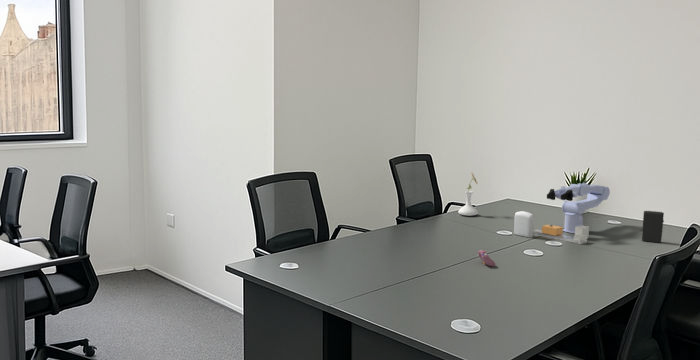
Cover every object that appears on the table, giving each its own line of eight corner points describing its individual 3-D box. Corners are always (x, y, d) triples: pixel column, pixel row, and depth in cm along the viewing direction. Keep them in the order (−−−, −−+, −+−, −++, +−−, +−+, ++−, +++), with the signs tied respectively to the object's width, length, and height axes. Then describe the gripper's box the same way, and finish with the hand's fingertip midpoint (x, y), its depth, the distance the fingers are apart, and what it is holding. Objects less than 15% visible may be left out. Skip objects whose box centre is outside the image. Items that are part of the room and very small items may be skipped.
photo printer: (512, 234, 350) (513, 210, 349) (517, 233, 353) (518, 209, 351) (529, 238, 343) (530, 213, 341) (534, 237, 345) (535, 212, 343)
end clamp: (548, 231, 351) (549, 223, 351) (562, 233, 345) (563, 225, 345) (541, 232, 347) (542, 224, 347) (555, 235, 341) (556, 227, 341)
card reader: (661, 241, 339) (664, 211, 337) (661, 243, 335) (664, 213, 333) (641, 239, 343) (644, 210, 340) (641, 241, 339) (643, 211, 337)
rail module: (581, 236, 347) (581, 225, 347) (588, 238, 344) (589, 226, 344) (574, 238, 344) (575, 226, 343) (581, 240, 341) (582, 228, 340)
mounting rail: (537, 232, 357) (537, 225, 356) (587, 242, 335) (587, 235, 334) (530, 233, 353) (530, 226, 353) (580, 244, 331) (581, 237, 331)
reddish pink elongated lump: (480, 264, 299) (474, 250, 297) (490, 259, 299) (483, 245, 297) (487, 270, 289) (480, 256, 288) (496, 265, 289) (490, 251, 288)
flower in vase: (473, 217, 391) (475, 174, 388) (455, 215, 397) (456, 172, 393) (481, 214, 402) (483, 171, 399) (463, 212, 408) (464, 170, 404)
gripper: (554, 184, 357) (540, 188, 348) (581, 185, 346) (567, 189, 337) (555, 197, 358) (541, 202, 349) (581, 199, 347) (567, 204, 338)
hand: (554, 197), depth 343 cm, fingers open, 7 cm apart
